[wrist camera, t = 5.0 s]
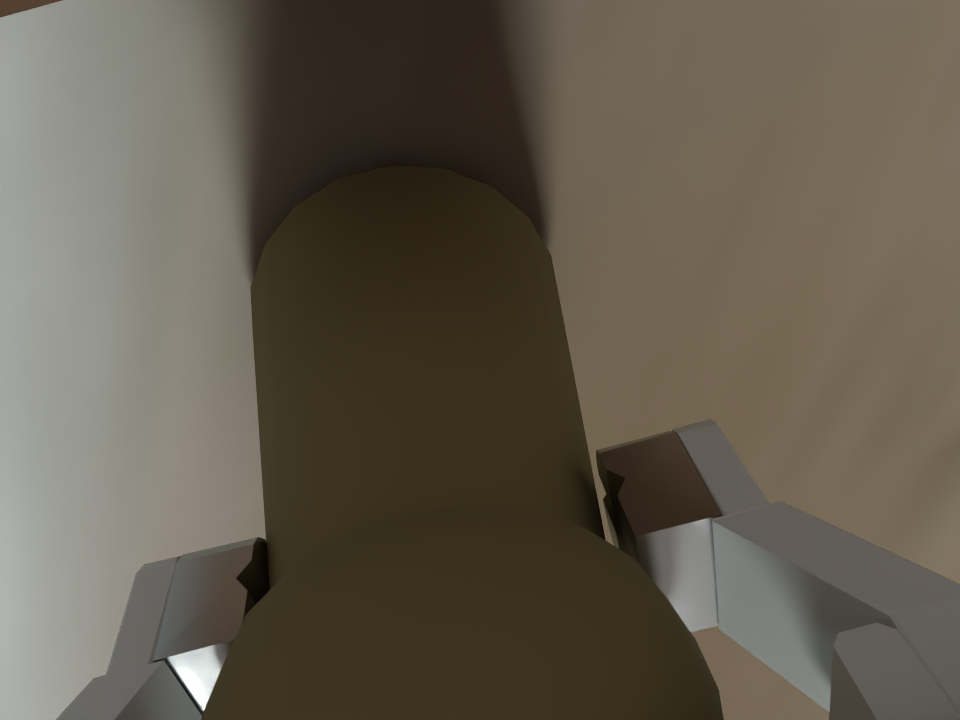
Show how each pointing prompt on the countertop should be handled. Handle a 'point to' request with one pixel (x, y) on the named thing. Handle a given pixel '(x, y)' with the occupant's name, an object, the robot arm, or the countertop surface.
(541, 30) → the countertop surface
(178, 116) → the countertop surface
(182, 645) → the robot arm
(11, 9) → the walnut block
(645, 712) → the cork
